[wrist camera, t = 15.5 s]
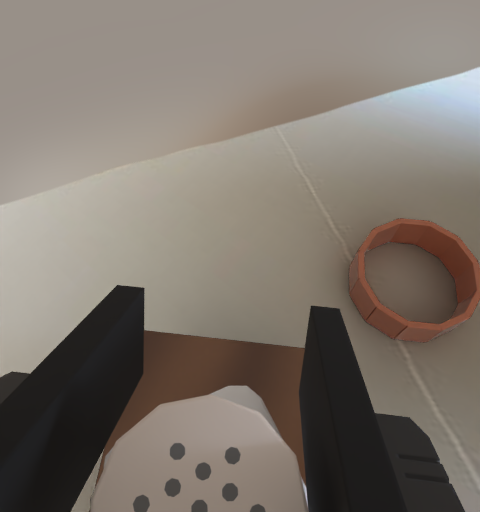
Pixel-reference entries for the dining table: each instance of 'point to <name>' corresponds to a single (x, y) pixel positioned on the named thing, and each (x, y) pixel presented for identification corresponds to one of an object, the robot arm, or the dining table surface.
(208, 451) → the pepper shaker
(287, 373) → the brown wooden box
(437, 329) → the faceted terracotta ring
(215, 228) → the dining table surface
